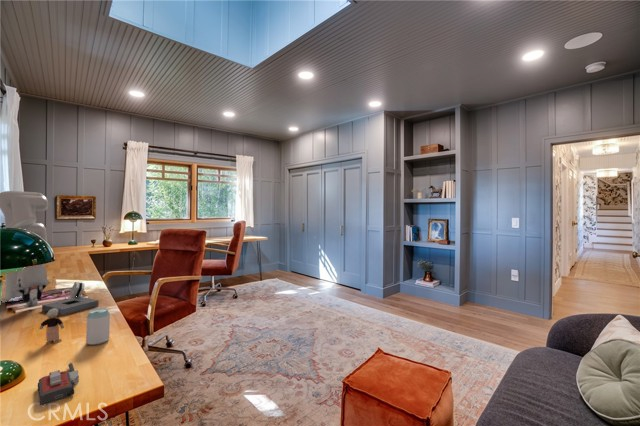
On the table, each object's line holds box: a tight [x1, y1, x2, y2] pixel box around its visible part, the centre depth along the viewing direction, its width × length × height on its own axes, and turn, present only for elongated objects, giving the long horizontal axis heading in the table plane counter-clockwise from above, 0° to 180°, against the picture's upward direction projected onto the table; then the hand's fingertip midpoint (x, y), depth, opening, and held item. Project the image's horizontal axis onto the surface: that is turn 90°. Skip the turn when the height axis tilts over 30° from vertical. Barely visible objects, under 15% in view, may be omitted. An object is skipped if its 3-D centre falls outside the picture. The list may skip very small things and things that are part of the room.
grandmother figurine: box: [38, 309, 65, 345], centre depth 110 cm, size 8×4×13 cm, turn 115°
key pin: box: [25, 286, 39, 308], centre depth 144 cm, size 4×4×10 cm
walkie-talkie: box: [37, 362, 80, 406], centre depth 84 cm, size 9×4×20 cm
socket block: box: [41, 296, 99, 317], centre depth 147 cm, size 16×16×3 cm
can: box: [85, 307, 111, 346], centre depth 111 cm, size 7×7×12 cm
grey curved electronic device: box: [68, 281, 85, 299], centre depth 163 cm, size 17×5×10 cm, turn 43°
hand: (32, 300), depth 144 cm, fingers closed on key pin, 4 cm apart
